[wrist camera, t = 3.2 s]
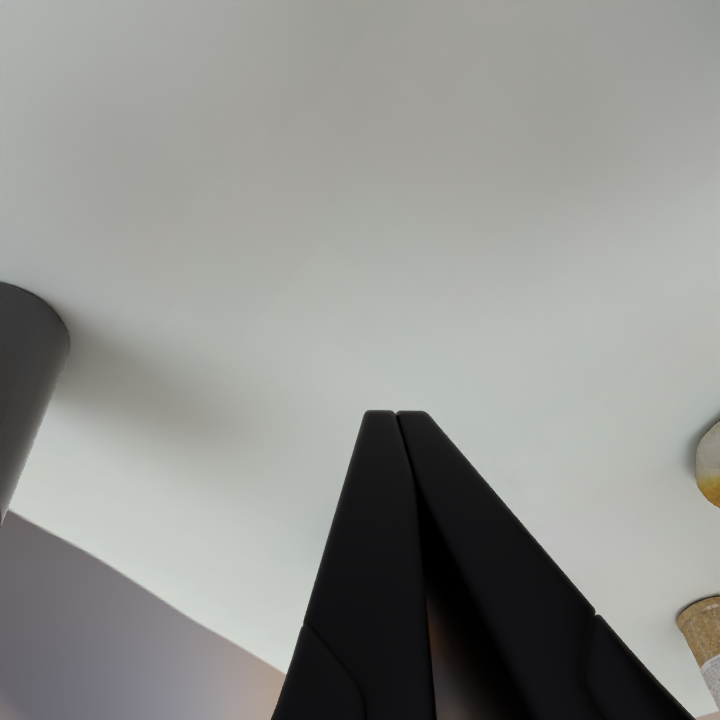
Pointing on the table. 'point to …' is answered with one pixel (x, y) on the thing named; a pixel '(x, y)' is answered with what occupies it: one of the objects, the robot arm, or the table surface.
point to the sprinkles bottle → (704, 640)
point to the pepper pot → (25, 378)
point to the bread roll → (709, 465)
